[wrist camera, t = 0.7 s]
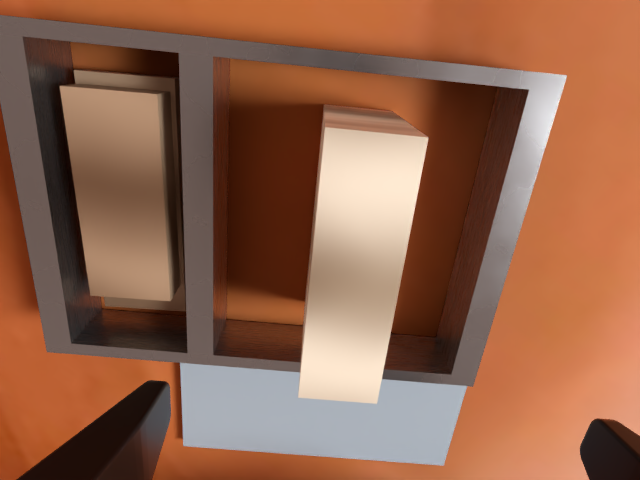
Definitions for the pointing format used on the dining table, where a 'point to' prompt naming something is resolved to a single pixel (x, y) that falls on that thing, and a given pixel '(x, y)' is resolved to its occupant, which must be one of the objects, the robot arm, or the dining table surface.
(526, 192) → the rack
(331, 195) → the beige wooden block
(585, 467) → the robot arm
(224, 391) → the mat
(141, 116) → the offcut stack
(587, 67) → the dining table surface
